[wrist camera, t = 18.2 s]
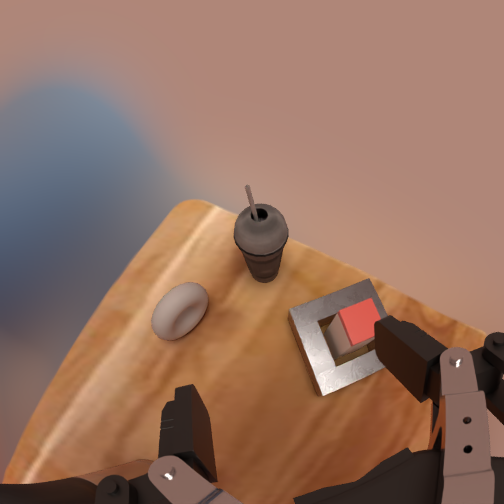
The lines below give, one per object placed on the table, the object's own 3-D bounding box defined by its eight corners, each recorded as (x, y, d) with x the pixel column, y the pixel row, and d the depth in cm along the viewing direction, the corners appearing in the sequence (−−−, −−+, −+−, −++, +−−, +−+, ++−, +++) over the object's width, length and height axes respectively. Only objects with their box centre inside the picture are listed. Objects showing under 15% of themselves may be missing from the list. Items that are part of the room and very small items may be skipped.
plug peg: (359, 349, 40) (385, 330, 30) (333, 360, 40) (353, 345, 30) (348, 324, 43) (371, 297, 32) (323, 334, 42) (339, 310, 32)
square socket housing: (393, 361, 39) (405, 355, 34) (317, 396, 38) (323, 395, 33) (360, 290, 45) (369, 278, 41) (287, 319, 44) (289, 309, 40)
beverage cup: (273, 298, 46) (270, 227, 28) (234, 278, 48) (210, 201, 31) (293, 262, 49) (301, 179, 31) (256, 244, 51) (245, 159, 33)
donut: (203, 293, 47) (186, 266, 39) (218, 305, 46) (204, 281, 37) (162, 336, 44) (135, 318, 35) (176, 350, 43) (151, 336, 34)
